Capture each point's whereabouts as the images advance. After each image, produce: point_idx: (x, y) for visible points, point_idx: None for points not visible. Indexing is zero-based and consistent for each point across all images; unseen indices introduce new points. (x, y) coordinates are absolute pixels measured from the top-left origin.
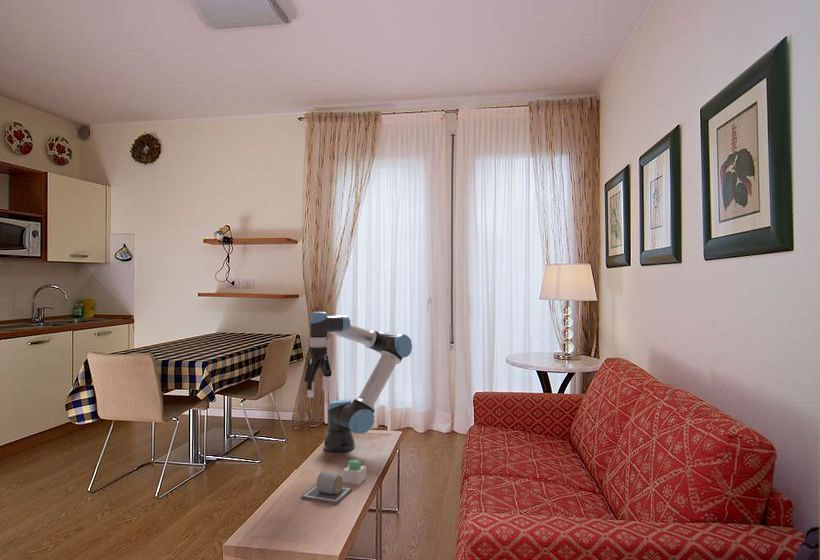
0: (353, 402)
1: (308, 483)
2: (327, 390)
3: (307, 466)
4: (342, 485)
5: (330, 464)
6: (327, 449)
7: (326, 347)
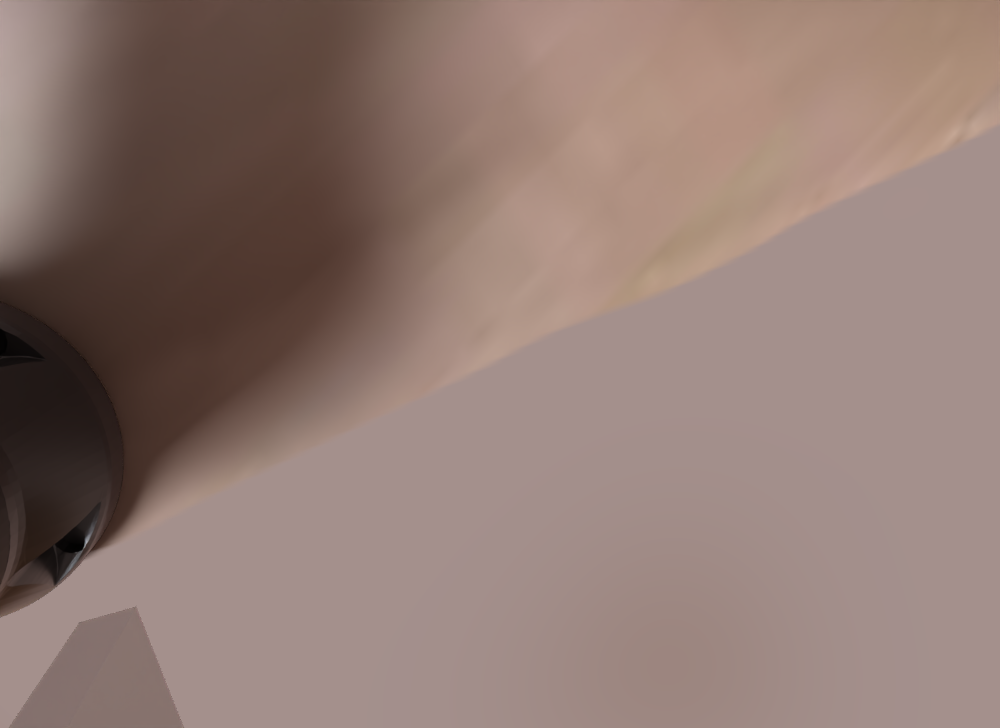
0: None
1: (832, 20)
2: (138, 631)
3: (544, 322)
4: None
5: (382, 178)
6: (119, 474)
7: None
